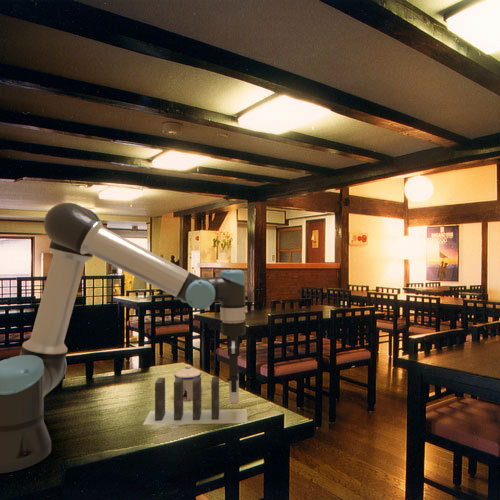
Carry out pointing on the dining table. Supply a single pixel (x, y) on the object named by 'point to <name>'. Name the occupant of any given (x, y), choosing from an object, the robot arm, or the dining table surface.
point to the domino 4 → (215, 398)
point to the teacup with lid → (188, 381)
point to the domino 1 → (159, 399)
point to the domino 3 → (196, 398)
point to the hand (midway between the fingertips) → (234, 398)
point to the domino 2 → (178, 398)
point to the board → (205, 417)
